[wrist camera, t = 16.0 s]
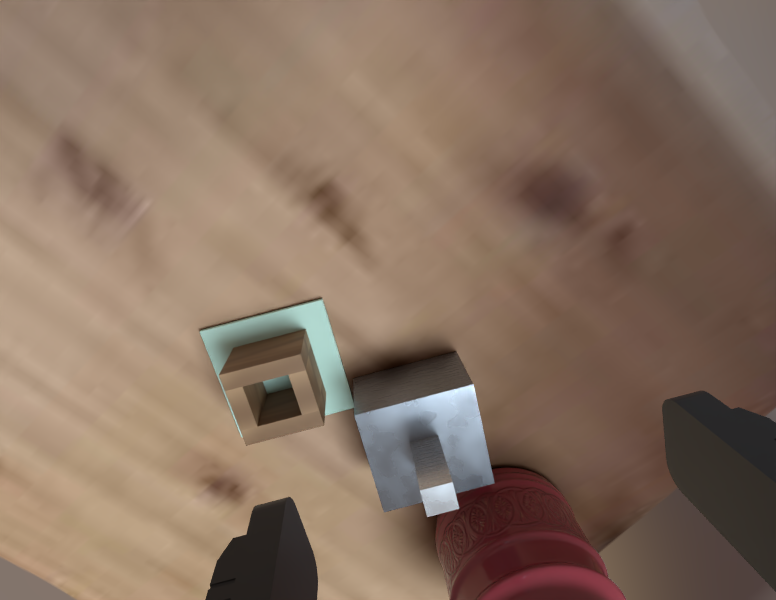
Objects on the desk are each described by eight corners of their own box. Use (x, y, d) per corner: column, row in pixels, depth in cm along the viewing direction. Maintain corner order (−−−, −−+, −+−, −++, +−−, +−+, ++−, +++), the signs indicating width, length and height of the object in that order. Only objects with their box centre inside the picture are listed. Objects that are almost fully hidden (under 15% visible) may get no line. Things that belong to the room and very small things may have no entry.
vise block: (353, 378, 43) (355, 461, 32) (456, 351, 43) (494, 424, 32) (379, 465, 46) (389, 568, 35) (476, 440, 46) (516, 535, 35)
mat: (200, 329, 41) (199, 331, 40) (322, 298, 41) (322, 299, 40) (242, 434, 44) (241, 437, 43) (355, 405, 44) (355, 407, 43)
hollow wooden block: (233, 347, 41) (218, 375, 36) (305, 328, 41) (300, 354, 36) (257, 411, 43) (246, 445, 38) (326, 393, 43) (324, 425, 38)
